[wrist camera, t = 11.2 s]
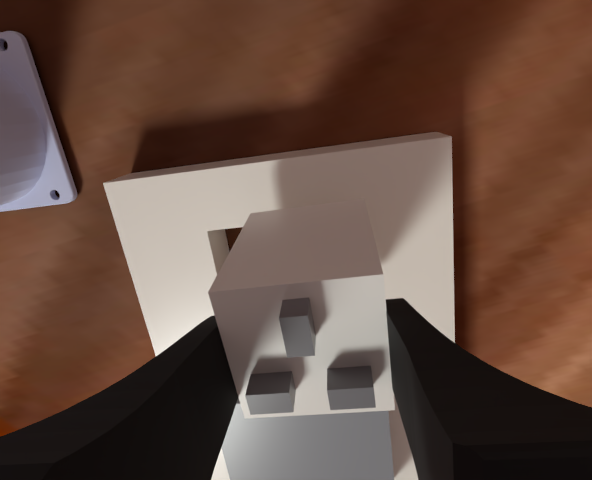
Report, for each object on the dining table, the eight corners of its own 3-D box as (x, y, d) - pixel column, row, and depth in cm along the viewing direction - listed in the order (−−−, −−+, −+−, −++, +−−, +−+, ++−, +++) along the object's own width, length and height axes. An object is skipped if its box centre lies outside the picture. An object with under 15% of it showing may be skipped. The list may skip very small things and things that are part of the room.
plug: (271, 307, 17) (239, 441, 11) (250, 213, 16) (198, 309, 9) (373, 298, 17) (399, 433, 11) (364, 198, 15) (387, 291, 9)
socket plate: (213, 468, 26) (201, 504, 24) (130, 173, 20) (103, 183, 18) (445, 463, 24) (457, 502, 22) (436, 131, 18) (451, 136, 16)
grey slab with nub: (251, 485, 23) (240, 539, 20) (224, 371, 20) (205, 414, 18) (391, 482, 22) (400, 539, 19) (381, 361, 19) (388, 407, 16)
